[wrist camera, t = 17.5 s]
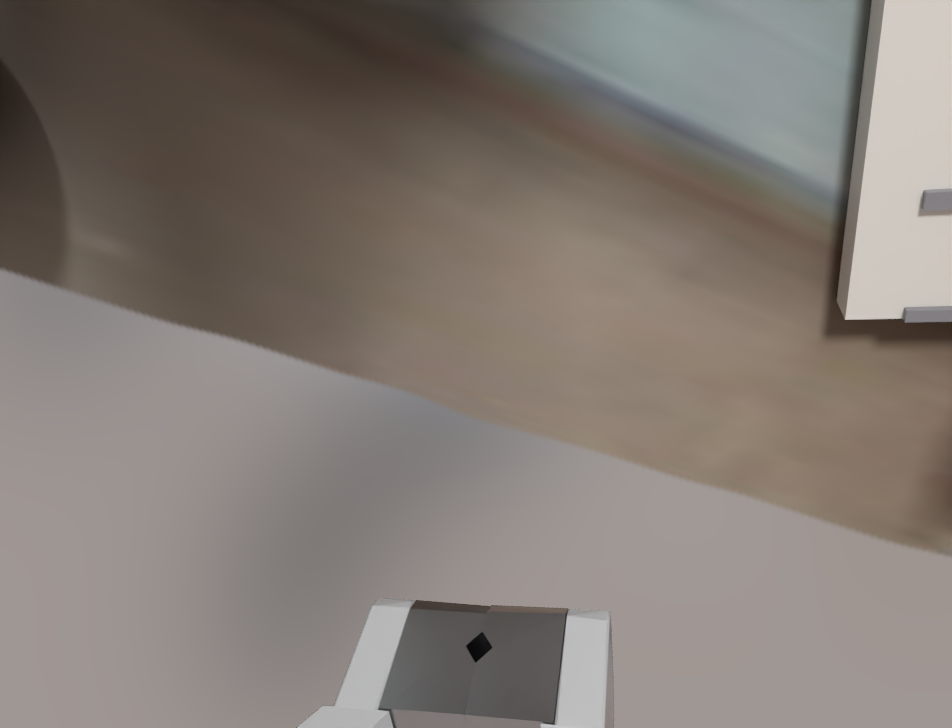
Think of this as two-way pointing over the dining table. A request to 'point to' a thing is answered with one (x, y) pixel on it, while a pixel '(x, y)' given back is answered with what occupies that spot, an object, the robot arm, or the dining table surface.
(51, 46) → the dining table surface
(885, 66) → the white base plate
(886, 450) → the dining table surface
